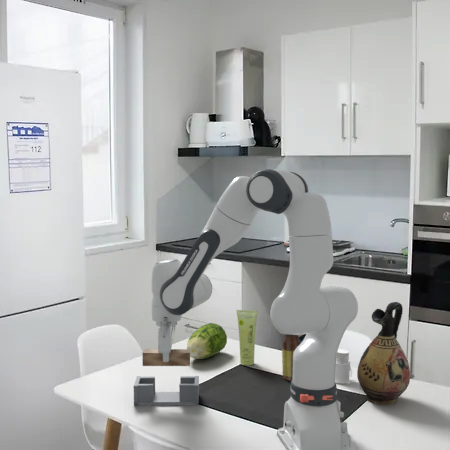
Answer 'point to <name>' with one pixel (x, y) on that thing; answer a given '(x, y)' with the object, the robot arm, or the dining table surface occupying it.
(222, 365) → the dining table surface
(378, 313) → the ceramic jug
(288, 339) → the sauce bottle
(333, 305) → the robot arm
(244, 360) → the tube
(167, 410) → the dining table surface
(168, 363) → the slat
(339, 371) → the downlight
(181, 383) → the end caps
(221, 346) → the lettuce
